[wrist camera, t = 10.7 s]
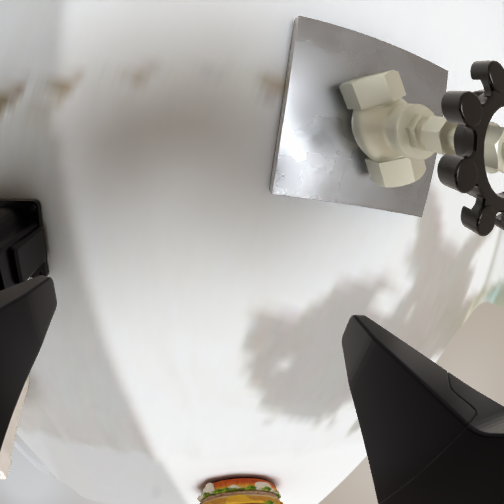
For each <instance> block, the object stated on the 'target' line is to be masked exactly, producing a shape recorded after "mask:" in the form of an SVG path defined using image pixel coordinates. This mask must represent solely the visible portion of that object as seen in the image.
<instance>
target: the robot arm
mask: <svg viewBox="0 0 504 504" xmlns="http://www.w3.org/2000/svg"><path fill="white" fill-rule="evenodd" d="M33 205H35V207H36V208H35V209H34V208H33ZM46 259H47V254H46V247H45V239H44V230H43V228H42V218H41V206H40V203H39V201H37V200H32V199H0V451H1V448H2V444H3V441H4V438H5V435H6V432H7V429H8V426H9V423H10V420H11V418H12V415H13V412H14V410H15V407H16V404H17V402H18V399H19V397H20V394H21V392H22V389H23V387H24V384H25V382H26V380H27V377H28V375H29V373H30V370H31V368H32V366H33V364H34V362H35V359H36V357H37V355H38V353H39V351H40V348H41V346H42V343H43V341H44V338H45V335H46V333H47V330H48V327H49V325H50V322H51V320H52V317H53V314H54V312H55V310H56V306H57V299H56V294H55V288H54V283H53V280H52V278H51V277H47V276H48V266H47V260H46ZM41 271H43V273H44V274H43V273H42V272H41ZM29 277H32V279H29V280H27V279H28V278H29ZM26 280H27V281H26ZM342 347H343V352H344V358H345V364H346V370H347V377H348V382H349V387H350V391H351V394H352V398H353V401H354V405H355V409H356V413H357V416H358V420H359V424H360V428H361V432H362V436H363V440H364V444H365V448H366V452H367V456H368V460H369V464H370V469H371V473H372V477H373V482H374V486H375V491H376V495H377V500H378V504H504V407H503V406H502V405H500V404H498V403H497V402H495V401H493V400H492V399H490V398H488V397H486V396H485V395H483V394H481V393H480V392H478V391H476V390H475V389H473V388H471V387H470V386H468V385H467V384H465V383H463V382H462V381H461V380H459V379H458V378H456V377H455V376H453V375H452V374H450V373H447V371H446V370H444V369H443V368H442V367H440V366H439V365H437V364H436V363H434V362H433V361H431V360H430V359H428V358H427V357H425V356H424V355H423V354H421V353H420V352H418V351H417V350H415V349H414V348H412V347H411V346H409V345H408V344H406V343H405V342H403V341H402V340H400V339H399V338H397V337H396V336H394V335H393V334H392V333H390V332H389V331H387V330H386V329H384V328H383V327H381V326H380V325H378V324H377V323H375V322H374V321H372V320H371V319H369V318H368V317H366V316H364V315H353V316H351V317H350V319H349V322H348V324H347V327H346V329H345V331H344V334H343V337H342Z"/></svg>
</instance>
